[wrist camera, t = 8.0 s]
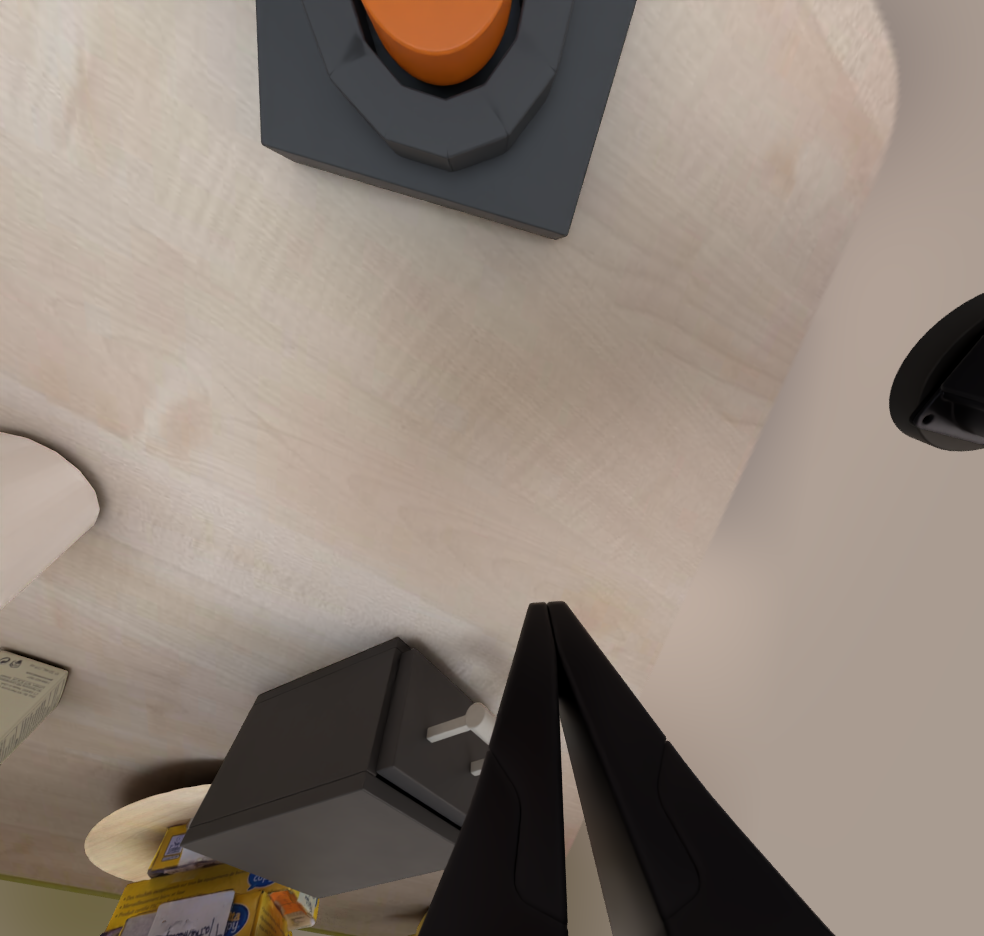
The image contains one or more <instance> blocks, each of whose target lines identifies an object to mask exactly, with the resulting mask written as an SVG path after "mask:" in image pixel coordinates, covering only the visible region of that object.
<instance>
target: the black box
mask: <svg viewBox="0 0 984 936" xmlns="http://www.w3.org/2000/svg"><path fill="white" fill-rule="evenodd" d="M409 650H411V649H410V648H409V647H408V646H407V645H406V644H405V643H404V642H403V641H402V640H401V639H399V638H395V639H393V640H390V641H388V642H385V643H383V644H381V645H378V646H376V647H374V648H371V649H369V650H366V651H364V652H362V653H359V654H357V655H354V656H352V657H350V658H347V659H345V660H343V661H340V662H338V663H335V664H333V665H331V666H328V667H326V668H323V669H321V670H319V671H316V672H314V673H312V674H309V675H307V676H304V677H302V678H300V679H297V680H295V681H292V682H290V683H288V684H285V685H283V686H281V687H278V688H276V689H273V690H271V691H269V692H266V693H264V694H261V695H259V696H258V697H257V699H256V701H255V703H254V705H253V707H252V708H251V710H250V712H249V714H248V716H247V718H246V720H245V722H244V723H243V725H242V727H241V729H240V731H239V733H238V735H237V737H236V739H235V741H234V742H233V744H232V746H231V748H230V750H229V752H228V754H227V756H226V758H225V759H224V761H223V763H222V765H221V767H220V769H219V771H218V773H217V775H216V777H215V778H214V780H213V782H212V784H211V786H210V788H209V790H208V792H207V794H206V795H205V797H204V799H203V801H202V803H201V805H200V807H199V809H198V811H197V813H196V814H195V816H194V818H193V820H192V822H191V824H190V826H189V829H188V830H187V832H186V834H185V836H184V838H183V840H182V841H181V843H180V847H183V848H185V849H188V850H191V851H193V852H196V853H199V854H201V855H204V856H206V857H209V858H212V859H214V860H217V861H220V862H222V863H225V864H228V865H230V866H233V867H236V868H238V869H241V870H244V871H246V872H249V873H252V874H254V875H257V876H259V877H262V878H265V879H267V880H270V881H273V882H275V883H278V884H281V885H283V886H286V887H289V888H291V889H294V890H297V891H299V892H302V893H305V894H307V895H310V896H312V897H315V898H318V899H319V898H323V897H327V896H332V895H336V894H340V893H345V892H349V891H353V890H358V889H362V888H366V887H371V886H375V885H379V884H384V883H388V882H392V881H396V880H401V879H405V878H409V877H414V876H418V875H422V874H427V873H431V872H435V871H440V870H444V869H445V868H446V865H447V863H448V860H449V858H450V856H451V853H452V851H453V848H454V846H455V843H456V841H457V838H458V836H459V833H460V830H461V828H462V827H460V826H458V825H457V824H455V827H454V826H452V825H451V824H449V823H447V822H446V821H444V820H443V819H441V818H440V817H438V816H436V815H435V814H433V813H432V812H430V811H429V810H427V809H425V808H424V807H422V806H421V805H419V804H418V803H416V802H414V801H413V800H411V799H410V798H408V797H407V796H405V795H403V794H402V793H400V792H399V791H397V790H395V789H394V788H392V787H391V786H389V785H388V784H386V783H384V782H383V781H381V780H380V779H378V778H377V777H375V776H376V775H377V773H376V767H377V763H378V758H379V754H380V749H381V744H382V740H383V735H384V731H385V726H386V722H387V717H388V712H389V708H390V703H391V699H392V694H393V689H394V685H395V680H396V676H397V671H398V666H399V662H400V657H401V654H402V653H404V652H406V651H409Z"/></svg>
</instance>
